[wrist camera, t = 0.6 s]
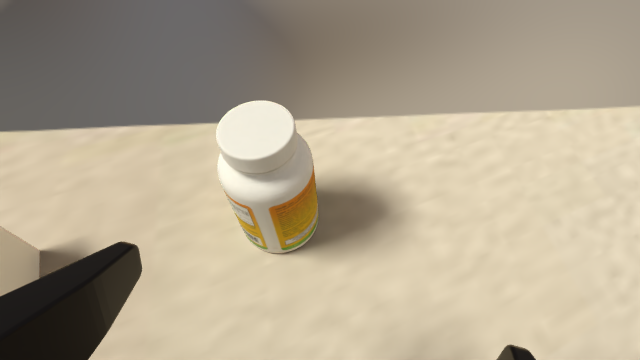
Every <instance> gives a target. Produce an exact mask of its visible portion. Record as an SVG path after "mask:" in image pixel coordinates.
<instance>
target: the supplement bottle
mask: <svg viewBox="0 0 640 360" xmlns="http://www.w3.org/2000/svg"><path fill="white" fill-rule="evenodd" d="M216 139H217V143H218V146H219V148H220V151H221V153H220V155H219V159H218V165H217V170H218V176H219V180H220V183H221V185H222V188H223V190H224V192H225V194H226V196H227V198H228V200H229V202H230V204H231V206H232V208H233V210H234V212H235V214H236V216H237V218H238V220H239V223H240V225H241V227H242V229H243V231H244V233H245V234H246V236H247V238H248V239H249V240H250V242H251V243H252V244H253V245H255V246H256V247H258V248H259V249H261V250H263V251H266V252H270V253H285V252H289V251H292V250H295V249H297V248H299V247H301V246H302V245H304V244H305V243H306V242H307V241H308V240H309V239H310V238H311V237H312V235H313V234H314V232H315V230H316V227H317V224H318V218H319V211H318V202H317V193H316V184H315V175H314V166H313V159H312V154H311V151H310V148H309V146H308V144H307V143H306V141H305V140H304V139H303V138H302V137H301V136H300V135H299V134H298V133H297V132H296V126H295V122H294V119H293V117H292V115H291V114H290V112H289V111H288V110H287V109H286V108H284V107H283V106H281V105H279V104H277V103H274V102H270V101H251V102H247V103H244V104H241V105H239V106H237V107H235V108H233V109H232V110H230V111H229V112H228V113H227V114H226V115H225V116H224V117H223V118H222V119H221V121H220V122H219V124H218V127H217V131H216Z"/></svg>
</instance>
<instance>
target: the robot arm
mask: <svg viewBox="0 0 640 360" xmlns="http://www.w3.org/2000/svg"><path fill="white" fill-rule="evenodd" d="M141 272H142V264H141V259H140V253H139V248H138V247H137V245H135V244H131V243H127V242H118V243H116V244H113V245H111V246H109V247H107V248H105V249H102V250H100V251H98V252H96V253H94V254H91V255H89V256H87V257H85V258H83V259H81V260H78V261H76V262H74V263H72V264H70V265H67V266H65V267H63V268H61V269H59V270H57V271H54V272H52V273H50V274H48V275H46V276H43V277H41V278H39V279H37V280H35V281H32V282H30V283H28V284H26V285H24V286H22V287H19V288H17V289H15V290H13V291H11V292H8V293H6V294H4V295H2V296H0V360H88V359H89V358H90V356H91V355H92V353H93V352H94V351H95V349H96V348H97V346H98V345H99V344H100V342H101V341H102V339H103V338H104V337H105V335H106V334H107V332H108V331H109V329H110V327H111V326H112V324H113V323H114V321H115V319H116V317H117V316H118V314H119V312H120V310H121V309H122V307H123V305H124V304H125V302H126V300H127V298H128V297H129V295H130V293H131V291H132V290H133V288H134V286H135V285H136V283H137V281H138V279H139V278H140V275H141ZM497 360H536V359H535V358H534V356H533V355H532V354H531V353H530V352H529V351H528V350H527V349H525V348H522V347H518V346H514V345H507V346H506V347H505V348H504V350H503V351H502V353H501V354H500V356H499V357H498V358H497Z"/></svg>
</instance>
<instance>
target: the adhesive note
mask: <svg viewBox="0 0 640 360" xmlns="http://www.w3.org/2000/svg"><path fill="white" fill-rule="evenodd" d="M39 268H40V250H39V249H37V248H35V247H34V246H32V245H30V244H29V243H27V242H25V241H24V240H22V239H21V238H19V237H17V236H16V235H14V234H12V233H11V232H9V231H7V230H6V229H4V228H2V227H1V226H0V296H2V295H4V294H6V293H8V292H11V291H13V290H15V289H17V288H19V287H22V286H24V285H26V284H28V283H30V282H32V281H35V280H37V279H39Z"/></svg>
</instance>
